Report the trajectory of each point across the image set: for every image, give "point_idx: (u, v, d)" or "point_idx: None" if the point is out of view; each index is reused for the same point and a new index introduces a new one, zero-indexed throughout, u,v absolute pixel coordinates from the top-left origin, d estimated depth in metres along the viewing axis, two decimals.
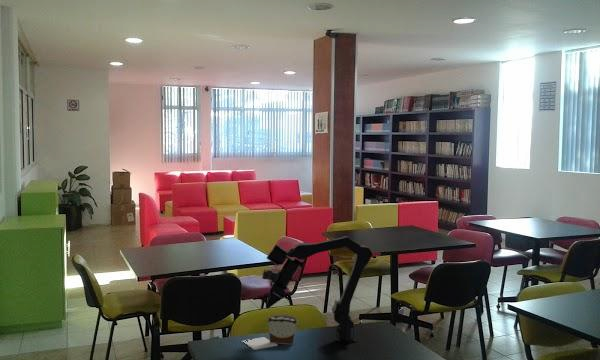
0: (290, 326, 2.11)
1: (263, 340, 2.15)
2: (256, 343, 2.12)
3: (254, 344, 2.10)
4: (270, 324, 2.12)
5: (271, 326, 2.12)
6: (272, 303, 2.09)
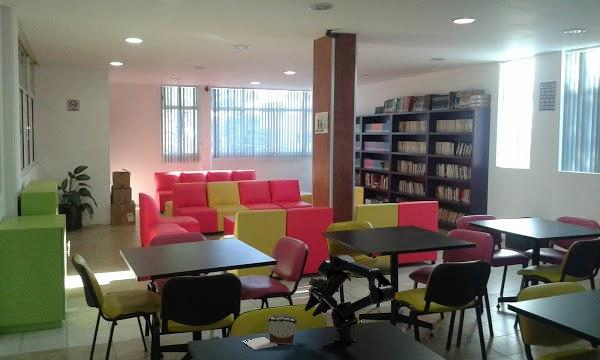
0: (290, 326, 2.11)
1: (263, 340, 2.15)
2: (256, 343, 2.12)
3: (254, 344, 2.10)
4: (270, 324, 2.12)
5: (271, 326, 2.12)
6: (320, 312, 2.09)
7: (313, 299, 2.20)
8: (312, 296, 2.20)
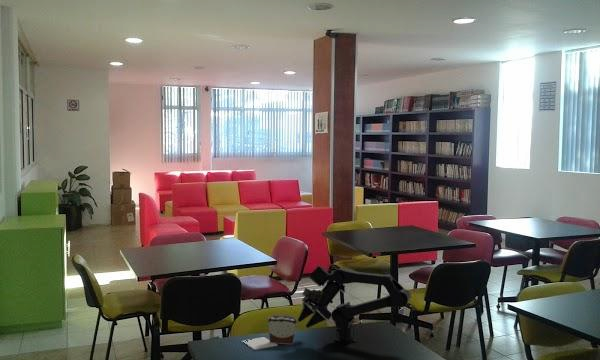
0: (290, 326, 2.11)
1: (263, 340, 2.15)
2: (256, 343, 2.12)
3: (254, 344, 2.10)
4: (270, 324, 2.12)
5: (271, 326, 2.12)
6: (313, 323, 2.08)
7: (307, 309, 2.19)
8: (306, 306, 2.19)
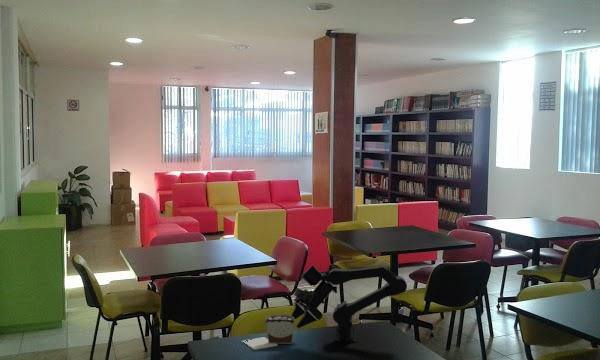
0: (288, 326, 2.11)
1: (263, 340, 2.15)
2: (256, 343, 2.12)
3: (254, 344, 2.10)
4: (268, 325, 2.12)
5: (269, 327, 2.12)
6: (304, 323, 2.07)
7: (299, 309, 2.18)
8: (297, 306, 2.18)
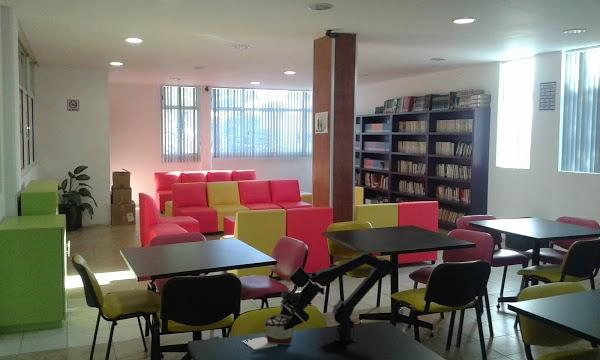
0: (287, 330, 2.08)
1: (263, 340, 2.15)
2: (256, 343, 2.12)
3: (254, 344, 2.10)
4: (267, 328, 2.09)
5: (268, 330, 2.09)
6: (291, 325, 2.05)
7: (285, 311, 2.16)
8: (284, 308, 2.15)
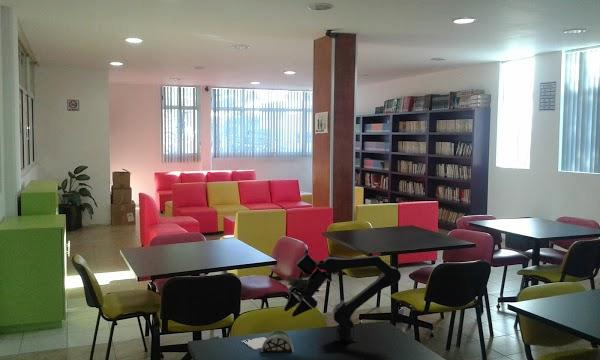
0: None
1: (263, 340, 2.15)
2: (256, 343, 2.12)
3: (254, 344, 2.10)
4: None
5: None
6: (299, 312, 2.06)
7: (293, 299, 2.17)
8: (292, 296, 2.16)
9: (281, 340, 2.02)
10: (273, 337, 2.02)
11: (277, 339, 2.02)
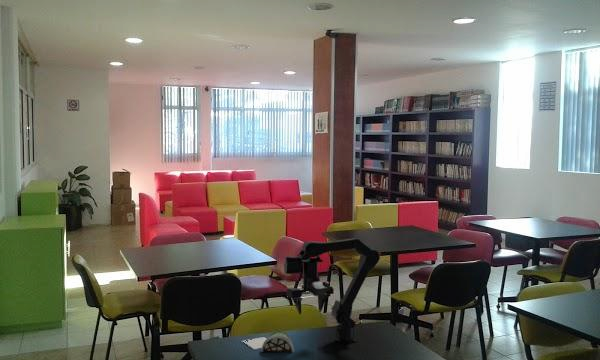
0: None
1: (263, 340, 2.15)
2: (256, 343, 2.12)
3: (254, 344, 2.10)
4: None
5: None
6: None
7: None
8: None
9: (281, 340, 2.02)
10: (273, 337, 2.02)
11: (277, 339, 2.02)
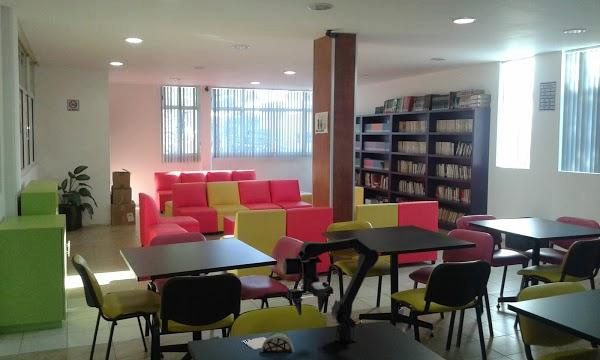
0: None
1: (263, 340, 2.15)
2: (256, 343, 2.12)
3: (254, 344, 2.10)
4: None
5: None
6: None
7: None
8: None
9: (281, 340, 2.02)
10: (273, 337, 2.02)
11: (277, 339, 2.02)
